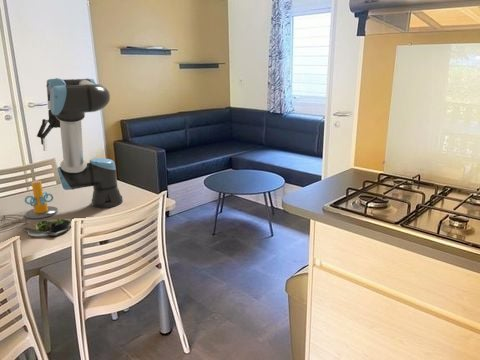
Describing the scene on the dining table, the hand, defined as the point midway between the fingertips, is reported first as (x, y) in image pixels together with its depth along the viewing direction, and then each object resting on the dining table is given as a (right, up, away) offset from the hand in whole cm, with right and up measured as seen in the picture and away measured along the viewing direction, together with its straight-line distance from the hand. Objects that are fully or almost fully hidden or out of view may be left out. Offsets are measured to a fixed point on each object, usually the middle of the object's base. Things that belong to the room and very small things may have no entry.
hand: (58, 150), depth 202 cm
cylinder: (-1, -31, -16) cm, 35 cm away
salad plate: (+13, -38, -34) cm, 53 cm away
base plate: (0, -32, -16) cm, 36 cm away
